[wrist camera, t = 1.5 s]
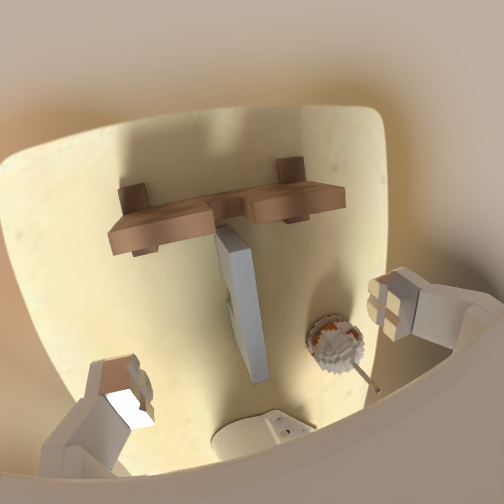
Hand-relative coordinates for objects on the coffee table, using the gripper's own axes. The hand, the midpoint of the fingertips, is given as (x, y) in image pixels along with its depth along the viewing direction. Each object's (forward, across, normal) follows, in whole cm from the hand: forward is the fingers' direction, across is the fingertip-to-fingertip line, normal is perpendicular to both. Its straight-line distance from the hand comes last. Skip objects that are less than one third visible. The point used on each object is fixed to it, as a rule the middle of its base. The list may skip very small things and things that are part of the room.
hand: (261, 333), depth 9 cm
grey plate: (+26, +2, -14) cm, 29 cm away
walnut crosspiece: (+27, +3, -3) cm, 27 cm away
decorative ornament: (+25, +15, -27) cm, 39 cm away
